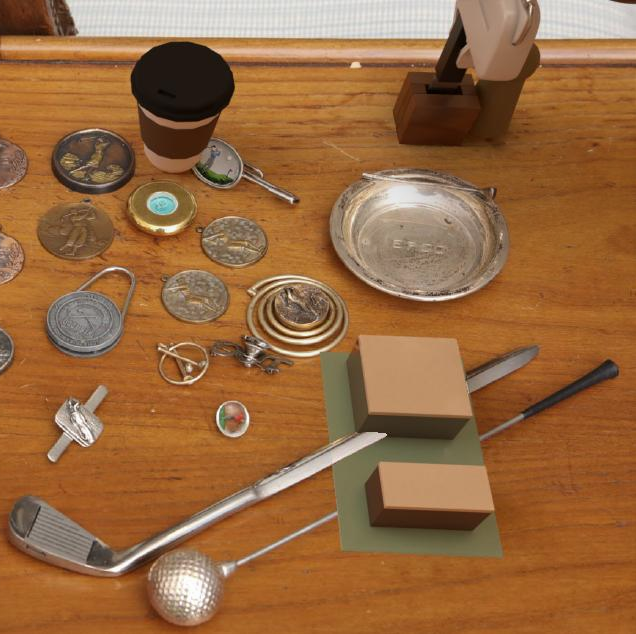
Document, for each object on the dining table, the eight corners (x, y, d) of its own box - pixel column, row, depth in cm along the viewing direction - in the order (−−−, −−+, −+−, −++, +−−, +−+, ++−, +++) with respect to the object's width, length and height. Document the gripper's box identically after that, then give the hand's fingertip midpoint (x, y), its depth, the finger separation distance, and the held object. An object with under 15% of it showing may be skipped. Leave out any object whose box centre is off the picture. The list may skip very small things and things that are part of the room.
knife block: (453, 111, 109) (471, 73, 104) (461, 146, 106) (481, 108, 101) (392, 109, 109) (407, 71, 104) (399, 144, 106) (415, 106, 101)
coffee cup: (192, 204, 101) (206, 126, 90) (107, 164, 104) (111, 84, 93) (237, 142, 106) (254, 61, 95) (154, 105, 109) (163, 23, 98)
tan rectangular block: (464, 488, 82) (485, 465, 78) (473, 531, 80) (495, 510, 76) (364, 483, 82) (379, 461, 78) (369, 526, 80) (386, 506, 76)
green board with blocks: (460, 361, 90) (482, 330, 85) (501, 561, 80) (529, 538, 75) (317, 355, 90) (331, 324, 86) (339, 554, 80) (356, 531, 75)
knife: (435, 121, 108) (487, 9, 94) (438, 135, 107) (491, 23, 93) (410, 120, 108) (457, 8, 94) (412, 134, 107) (461, 22, 93)
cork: (511, 141, 106) (552, 68, 97) (457, 134, 107) (494, 61, 97) (506, 104, 109) (546, 30, 100) (454, 98, 110) (489, 24, 100)
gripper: (573, 11, 80) (509, 124, 92) (523, -125, 91) (472, -9, 103) (501, 9, 80) (446, 121, 92) (460, -128, 91) (415, -11, 103)
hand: (459, 51), depth 98 cm, fingers closed on knife, 2 cm apart
